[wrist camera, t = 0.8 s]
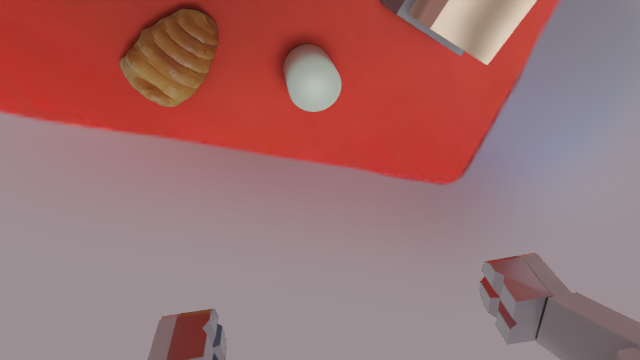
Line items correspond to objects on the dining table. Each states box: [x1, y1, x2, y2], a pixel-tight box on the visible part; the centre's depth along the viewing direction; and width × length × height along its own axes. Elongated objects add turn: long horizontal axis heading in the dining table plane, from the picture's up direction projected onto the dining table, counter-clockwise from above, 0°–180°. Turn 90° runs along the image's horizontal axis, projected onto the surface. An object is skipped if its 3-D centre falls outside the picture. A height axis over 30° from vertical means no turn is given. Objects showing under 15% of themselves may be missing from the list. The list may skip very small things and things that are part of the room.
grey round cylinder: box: [283, 44, 341, 112], centre depth 38 cm, size 5×5×5 cm
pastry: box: [120, 9, 218, 107], centre depth 36 cm, size 9×7×4 cm
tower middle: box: [407, 0, 537, 65], centre depth 32 cm, size 6×6×5 cm
